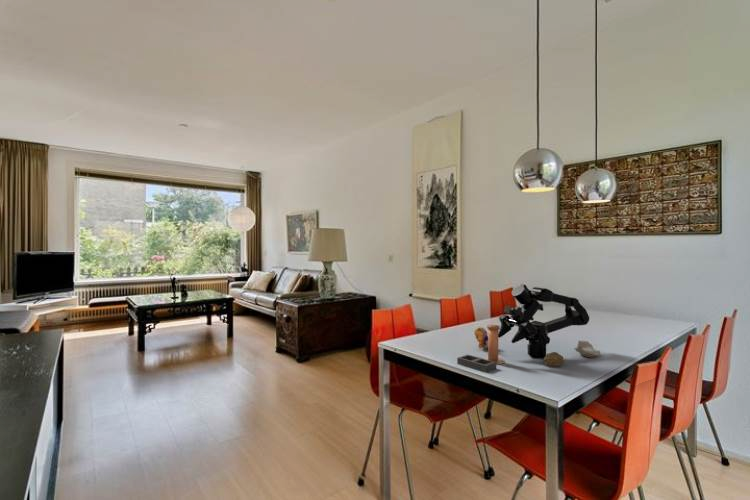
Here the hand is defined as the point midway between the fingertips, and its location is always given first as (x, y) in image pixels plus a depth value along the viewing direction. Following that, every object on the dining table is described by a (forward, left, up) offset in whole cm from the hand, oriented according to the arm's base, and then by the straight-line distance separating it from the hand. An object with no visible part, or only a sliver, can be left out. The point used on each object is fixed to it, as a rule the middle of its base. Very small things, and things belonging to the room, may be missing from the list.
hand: (505, 339), depth 151 cm
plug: (+5, +2, -8) cm, 10 cm away
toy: (+5, -17, -9) cm, 20 cm away
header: (+13, +8, -8) cm, 18 cm away
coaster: (+5, +2, -8) cm, 10 cm away
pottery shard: (-36, -8, -9) cm, 38 cm away
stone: (-18, +2, -9) cm, 20 cm away
